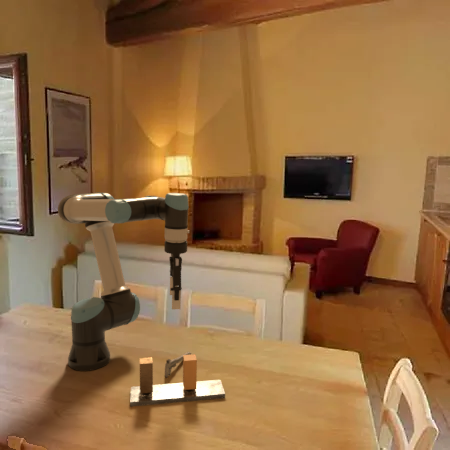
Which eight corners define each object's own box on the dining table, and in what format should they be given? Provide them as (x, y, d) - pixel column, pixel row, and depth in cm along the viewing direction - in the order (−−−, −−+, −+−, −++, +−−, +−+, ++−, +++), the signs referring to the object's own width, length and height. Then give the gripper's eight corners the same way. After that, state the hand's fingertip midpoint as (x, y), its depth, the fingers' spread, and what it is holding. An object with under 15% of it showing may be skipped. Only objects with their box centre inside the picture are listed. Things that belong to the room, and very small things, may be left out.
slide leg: (183, 385, 141) (183, 355, 139) (195, 384, 141) (195, 354, 140) (184, 391, 137) (184, 360, 135) (196, 390, 137) (196, 359, 136)
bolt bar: (131, 391, 140) (130, 355, 138) (220, 383, 146) (220, 349, 144) (130, 406, 131) (129, 368, 129) (225, 398, 137) (225, 361, 135)
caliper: (167, 378, 149) (167, 362, 148) (164, 378, 149) (164, 361, 148) (191, 354, 168) (191, 339, 167) (188, 353, 168) (188, 338, 167)
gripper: (191, 249, 128) (189, 315, 132) (184, 232, 153) (182, 289, 156) (166, 249, 127) (165, 316, 131) (163, 232, 151) (162, 289, 155)
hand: (174, 301), depth 143 cm, fingers open, 13 cm apart
